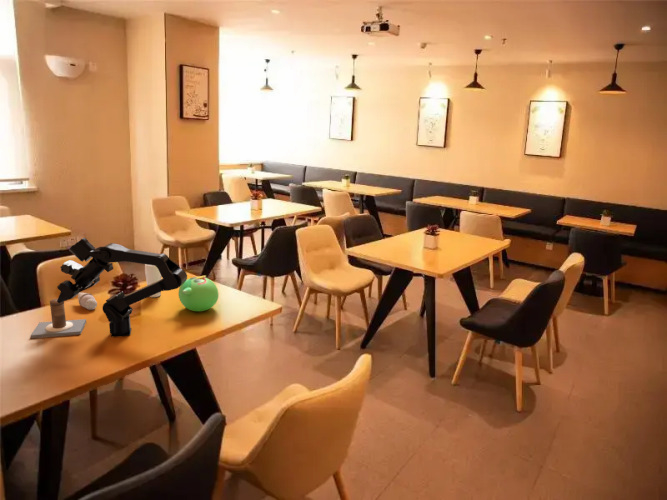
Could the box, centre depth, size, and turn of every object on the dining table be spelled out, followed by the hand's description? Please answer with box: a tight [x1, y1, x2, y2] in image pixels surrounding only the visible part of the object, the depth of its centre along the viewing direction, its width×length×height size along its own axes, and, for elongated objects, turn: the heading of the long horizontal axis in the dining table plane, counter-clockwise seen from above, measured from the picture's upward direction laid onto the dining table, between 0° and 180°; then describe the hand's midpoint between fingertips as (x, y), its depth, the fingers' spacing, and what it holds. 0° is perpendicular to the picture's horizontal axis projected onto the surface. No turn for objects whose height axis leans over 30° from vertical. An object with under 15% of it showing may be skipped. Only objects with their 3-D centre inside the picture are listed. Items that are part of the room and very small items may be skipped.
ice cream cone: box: [77, 292, 98, 311], centre depth 206 cm, size 6×6×15 cm
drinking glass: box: [144, 264, 162, 298], centre depth 220 cm, size 7×7×15 cm
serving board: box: [30, 318, 87, 339], centre depth 183 cm, size 16×12×2 cm
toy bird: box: [178, 275, 219, 312], centre depth 206 cm, size 18×17×15 cm
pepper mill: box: [49, 298, 66, 328], centre depth 181 cm, size 4×4×10 cm
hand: (65, 297), depth 180 cm, fingers open, 9 cm apart
